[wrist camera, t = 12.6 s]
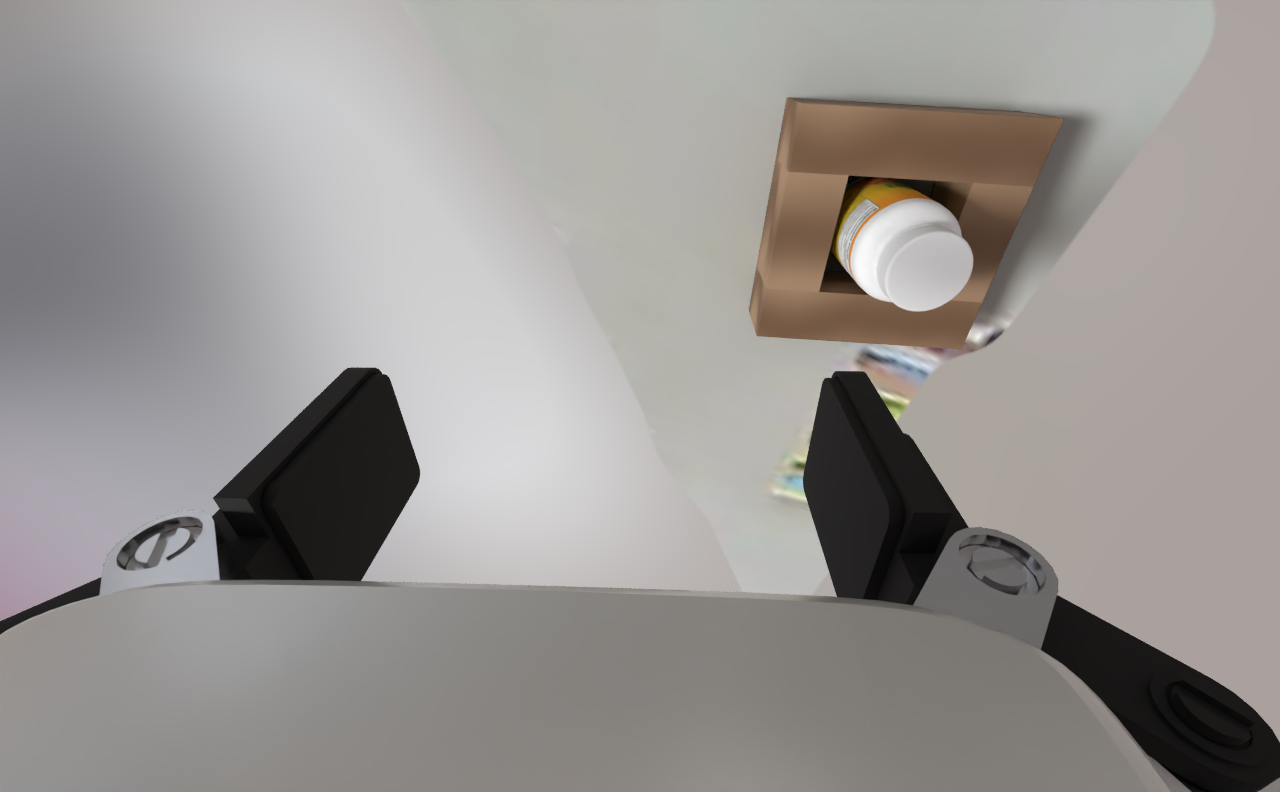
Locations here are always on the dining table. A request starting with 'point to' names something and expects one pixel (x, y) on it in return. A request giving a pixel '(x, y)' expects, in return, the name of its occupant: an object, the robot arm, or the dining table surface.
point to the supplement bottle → (900, 244)
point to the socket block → (889, 148)
